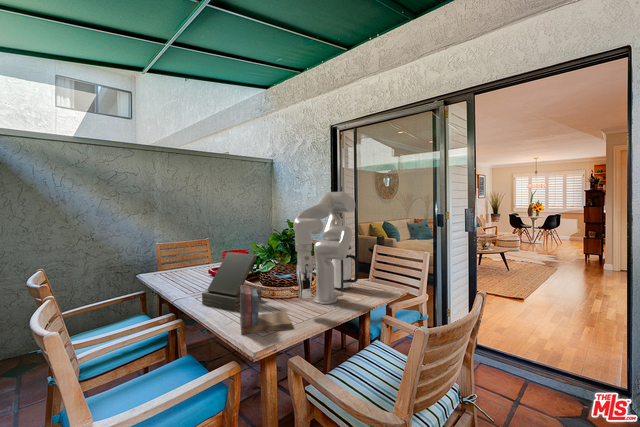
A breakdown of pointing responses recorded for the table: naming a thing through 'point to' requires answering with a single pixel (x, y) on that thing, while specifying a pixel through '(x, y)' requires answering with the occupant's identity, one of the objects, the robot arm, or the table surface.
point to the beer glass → (302, 292)
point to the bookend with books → (256, 322)
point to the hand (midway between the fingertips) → (304, 286)
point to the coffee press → (345, 271)
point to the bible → (230, 282)
